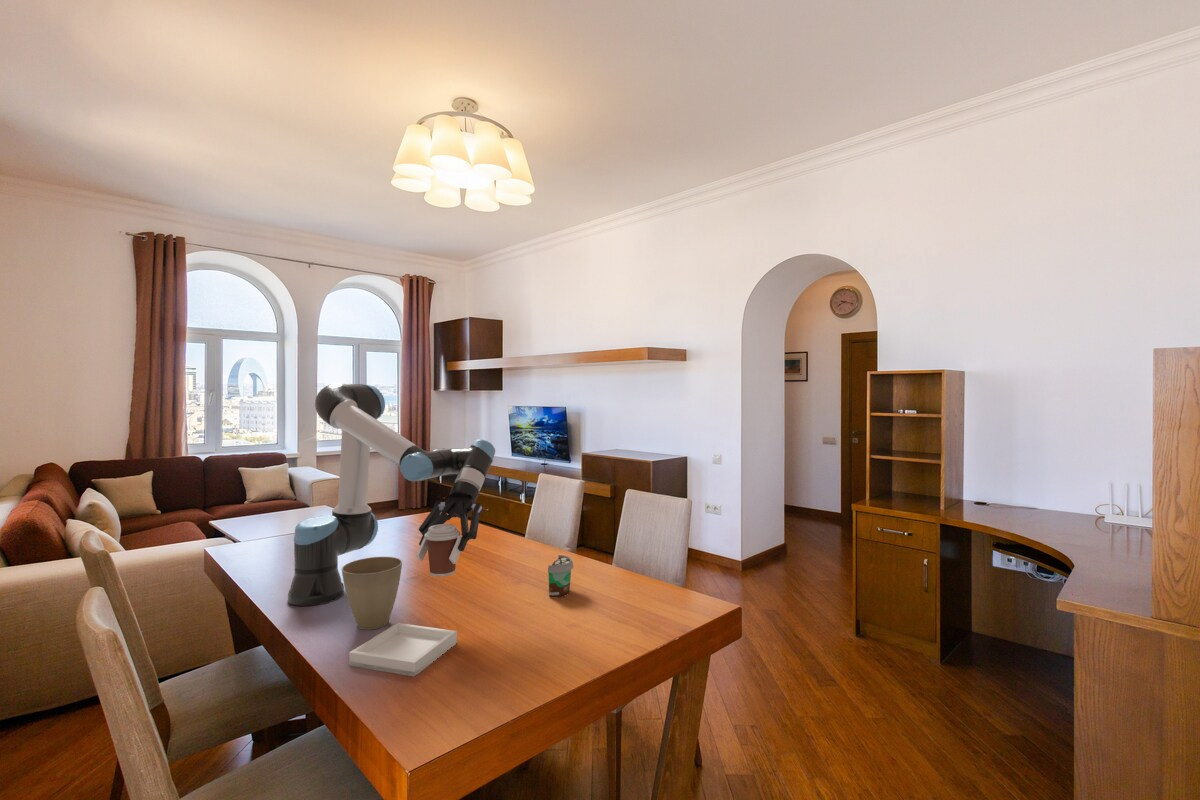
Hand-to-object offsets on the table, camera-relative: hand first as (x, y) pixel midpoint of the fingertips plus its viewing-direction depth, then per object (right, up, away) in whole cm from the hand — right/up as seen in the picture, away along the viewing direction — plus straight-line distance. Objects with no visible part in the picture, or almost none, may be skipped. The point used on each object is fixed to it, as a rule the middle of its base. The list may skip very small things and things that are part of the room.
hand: (435, 559), depth 142 cm
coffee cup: (+1, -4, +3) cm, 6 cm away
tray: (-4, -19, -12) cm, 22 cm away
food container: (+31, -19, +29) cm, 46 cm away
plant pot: (-18, -19, +5) cm, 27 cm away
